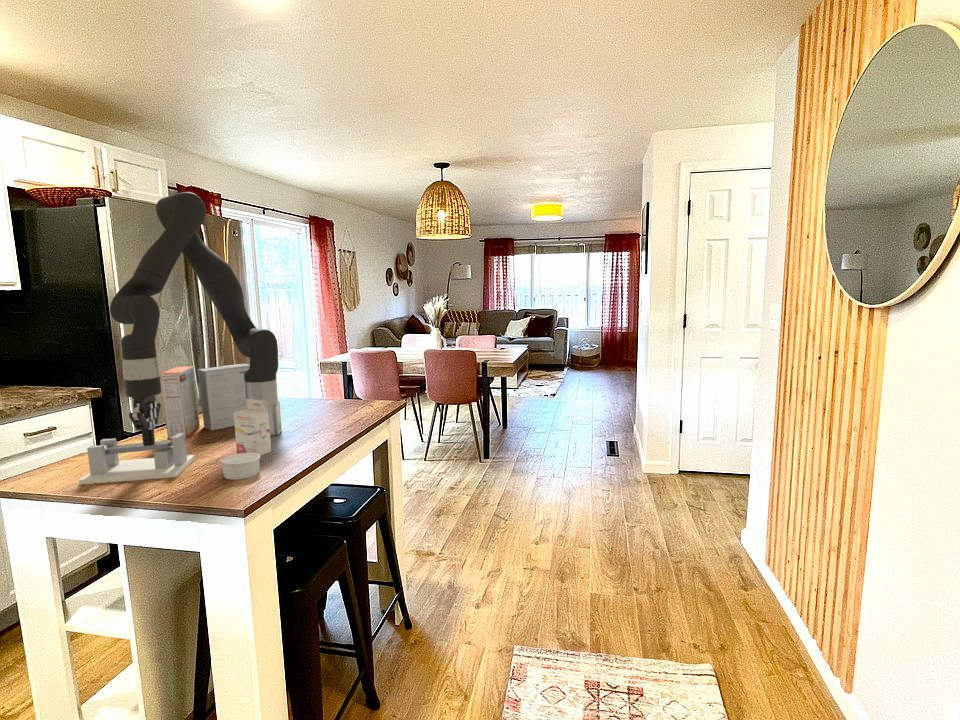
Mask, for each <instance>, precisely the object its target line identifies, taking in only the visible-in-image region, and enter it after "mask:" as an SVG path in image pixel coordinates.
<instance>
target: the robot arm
mask: <svg viewBox="0 0 960 720" xmlns="http://www.w3.org/2000/svg"><path fill="white" fill-rule="evenodd" d="M155 211H156V212H155V213H156V215H157V218H158V221H160V223H161V226H162V227H163V228H164V229H165V230H164V231H163V232H162V233H161V234H160V235H159V237H158V238H157V240H156V241H154V243H153V244H152V245H151V246H150V247H149V248H148V249H147V250H146V252H144V254H143V256H142V257H141V259H140V261H139V263H138V264H137V267H136V268H135V270H134V273H133V275H132V277H131V278H130V279H129V280H128V281H126V283H125V284H124V285H122V287H121V288H120V289H119V290H118V291H117V292H116V293H115V295H114V297H113V298H112V300H111V303H110V305H109V306H110V307H109V312H110V316H111V318H112V319H113V320H114V322H117V323H119V324H123V325H133V326H132V327H133V328H132V331H131V333H130V334H126V335H124V336H122V337H121V340H120V342H121V352H122V353H121V354H122V374H123V382H124V391H125V393H124V394H125V396H126V397H127V398H132V399H133V404H132V405H133V406H132V410H133V412H129V413H128V416H129V417H128V418H129V419H130V421H131V422H132V424H133V426H134V427H135V430H137V431H141V437H142V443H143V445H151V444H153V443H155V442H156V440H155V439H156V438H155V428H156V425H158V423H159V418H160V413H161V406H162V404H161V402H157V398H156V395H157V396H158V395H160V394H161V393H162V385H161V377H160V374H161V373H160V365H159V362H158V356H157V347H156V338H157V333H158V328H159V323H160V319H161V318H160V316H161V315H160V314H161V311H160V308H159V304H158V302H157V300H155V298H154V297H152V296H155V295H158V294H160V293H161V292H162V291H163V289H164V287H165V286H166V284H167V281H168V280H169V278H170V275H171V274H172V271H173V269H174V267H175V264H176V263H177V261H178V259H179V258H180V256H181V254H182V255H183V256H184V257H185V258H186V261H187V262H188V264H189V265H190V267H191V269H192V270H193V271H194V274H196V277H197V278H198V280H199V283H201V286H202V287H203V289H204V290H205V292H206V295H207V296H208V297H209V299H210V300H211V302H212V303H213V305H214V306H215V308H216V310H217V312H218V313H219V315H220V316H221V318H222V319H223V321H224V323H225V324H226V327H227V329H228V331H229V333H230V335H231V337H232V340H233V343H234V344H235V346H236V348H237V350H238V351H239V353H241V355H243V356H245V357H246V358H249V365H250V367H249V370H247V371H246V372H245V373H244V381H245V394H246V399H253V400H261V401H266V402H267V409H268V415H269V427H270V437H273V436H279V434H280V433H281V432H282V431H283V430H282V428H283V427H282V416H281V404H280V401H279V397H278V395H279V394H278V383H277V373H278V370H279V348H278V347H279V346H278V340H277V338H276V335H275V334H274V332H272V331H271V330H269V329H265V328H257V327H256V325H255V324H254V322H253V320H252V319H251V318H250V316H249V314H248V313H247V310H246V307H245V301H244V300H245V299H244V293H243V288H242V286H241V283H240V282H239V281H240V280H239V279H238V278H237V276H236V274H235V271H234V270H233V269H232V267H231V265H229V263H228V262H227V261H226V260H225V259H223V258H222V257H221V256H220V255H219V254H217V253H216V252H215V251H213V250H212V248H210V247H208V245H207V244H205V242H204V241H203V239H201V237H200V235H199V234H198V232H197V231H198V229H199V228H200V227H201V226H202V225H203V223H204V222H205V219H206V218H207V207H206V205H205V202H204V201H203V200H202V198H201V197H200V196H198V195H197V194H196V193H193V192H191V191H183V192H178V193H174V194H171V195H168V196H165V197H162V198H159V200H158V201H157V203H156V205H155ZM253 405H254V406H260V404H257V403H255V404H253ZM246 406H247V404H246Z"/></svg>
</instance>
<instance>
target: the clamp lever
mask: <svg viewBox="0 0 960 720" xmlns="http://www.w3.org/2000/svg"><path fill="white" fill-rule="evenodd" d="M172 445H173V444H172V442H171V441H170V440H169V439H167V440H155V443H153V444H151V445H143V442H138V443H137V442H136V443H127V444H119V445H118V444H117V445H115V446H110V445H107V444H106V445H104V446H105V454H106V455H108V454H118V455H119V454H125V453H136V452H146V451H157V450H159V449H167V448H170V447H171V446H172Z"/></svg>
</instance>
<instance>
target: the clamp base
mask: <svg viewBox="0 0 960 720" xmlns="http://www.w3.org/2000/svg"><path fill="white" fill-rule="evenodd" d="M170 441H171V442H172V444H173V445H172V446H171V447H170V448H167V449H157V450H155V452H153V457H149V458H136V459H135V458H134V459H124V460H123V459H122V460H120V459H119V453H118V454H108V455H106V454H105V446H104V445H106V444H107V445H110V446H115V445H118V443H117V438H116V437H113V438H102V439H101V440H100V441H99V444H100V445H89V446H88V447H87V448H86V450H87V458H88V464H89V465H88V466H89V473H87V474H86V475H84V476H83V477H81V478H80V479H78V485H79V486H82V484H85V485H95V484H94V483H97V484H106V483H107V484H108V482H109V483H117V482H130V481H143V480H144V481H145V480H157V479H168V478H177V477H178V476H179V475H180V474H181V473H182V472H183V471H184V470H185V469H187V467H189V465H191V464H192V463H193V462H194V461H195V460H196V455H195V454H192V455H191V454H189V455H188V454H187V445H186V444H187V443H186V438H185V433H178V434H177V435H174V436H172V437H171V438H170Z"/></svg>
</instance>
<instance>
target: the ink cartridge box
mask: <svg viewBox="0 0 960 720" xmlns="http://www.w3.org/2000/svg"><path fill="white" fill-rule="evenodd" d="M255 403H257V404H260V406H254V405H253V404H255ZM246 404H247V409H246V410H242V411H238V412H234V423H235V426H234V434H235V446H236V447H235V448H236V454H239V453H257V454H259V455H260V457H261V456H264V455H266V454H269V453H271V452H272V444H271V436H270V427H269V415H268V409H267V402H266V401H261V400H253V399H246Z"/></svg>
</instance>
